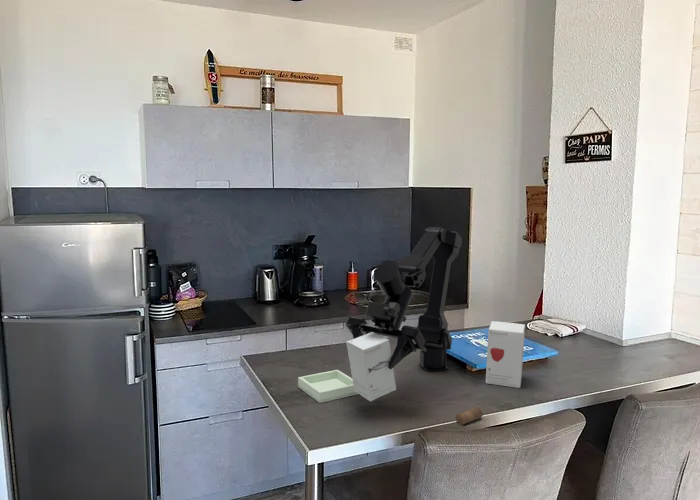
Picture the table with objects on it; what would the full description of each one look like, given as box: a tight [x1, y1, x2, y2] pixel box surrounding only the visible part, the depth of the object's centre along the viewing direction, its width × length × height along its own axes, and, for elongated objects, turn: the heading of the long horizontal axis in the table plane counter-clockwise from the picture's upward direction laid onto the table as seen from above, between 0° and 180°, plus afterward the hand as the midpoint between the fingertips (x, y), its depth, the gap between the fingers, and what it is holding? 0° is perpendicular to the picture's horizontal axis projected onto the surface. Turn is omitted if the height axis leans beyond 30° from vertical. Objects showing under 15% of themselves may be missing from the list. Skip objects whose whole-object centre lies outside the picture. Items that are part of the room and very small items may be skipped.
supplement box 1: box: [345, 332, 397, 402], centre depth 122 cm, size 7×7×13 cm
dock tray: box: [297, 369, 359, 403], centre depth 135 cm, size 12×12×2 cm
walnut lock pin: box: [455, 406, 483, 426], centre depth 119 cm, size 6×2×2 cm
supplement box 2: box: [485, 320, 526, 389], centre depth 143 cm, size 9×9×15 cm
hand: (371, 364), depth 122 cm, fingers closed on supplement box 1, 9 cm apart
